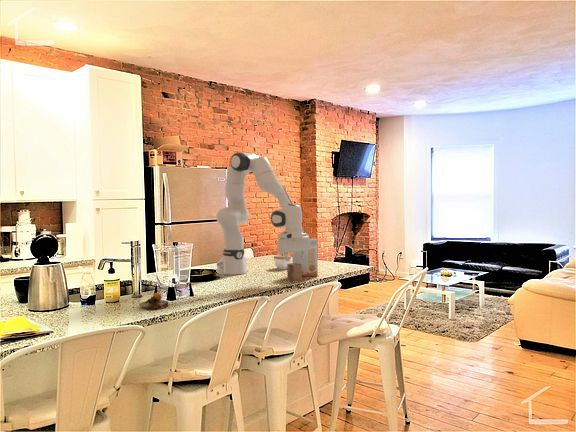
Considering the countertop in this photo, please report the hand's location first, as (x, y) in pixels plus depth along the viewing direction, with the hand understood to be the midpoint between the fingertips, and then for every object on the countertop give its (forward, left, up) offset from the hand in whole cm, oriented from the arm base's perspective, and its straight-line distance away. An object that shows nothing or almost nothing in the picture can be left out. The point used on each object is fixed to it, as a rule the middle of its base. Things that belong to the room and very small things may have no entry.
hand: (294, 259), depth 250 cm
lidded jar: (-36, +19, -11) cm, 42 cm away
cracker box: (-8, +14, -11) cm, 20 cm away
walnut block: (0, 0, -11) cm, 11 cm away
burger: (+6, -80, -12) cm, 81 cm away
